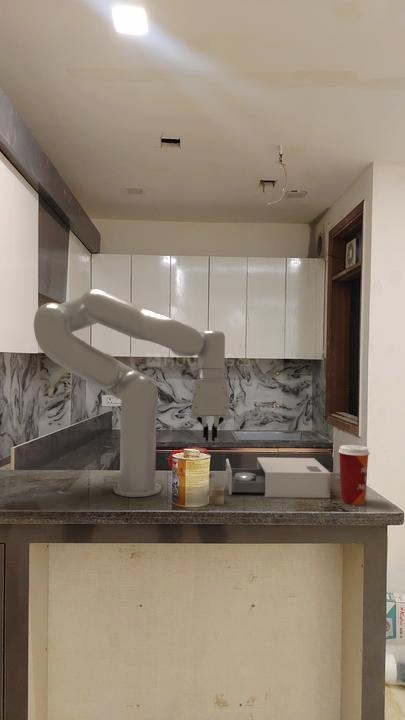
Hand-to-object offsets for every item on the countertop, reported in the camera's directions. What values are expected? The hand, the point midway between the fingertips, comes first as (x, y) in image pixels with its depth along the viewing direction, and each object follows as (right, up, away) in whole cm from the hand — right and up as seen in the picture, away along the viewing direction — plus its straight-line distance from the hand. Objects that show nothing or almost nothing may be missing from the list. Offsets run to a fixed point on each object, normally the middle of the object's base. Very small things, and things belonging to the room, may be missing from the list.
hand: (210, 440), depth 132 cm
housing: (+23, -13, 0) cm, 26 cm away
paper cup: (+36, -14, -12) cm, 41 cm away
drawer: (+13, -13, 0) cm, 19 cm away
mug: (-7, -13, +13) cm, 20 cm away
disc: (+10, -12, 0) cm, 16 cm away
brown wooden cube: (+1, -13, -14) cm, 19 cm away
